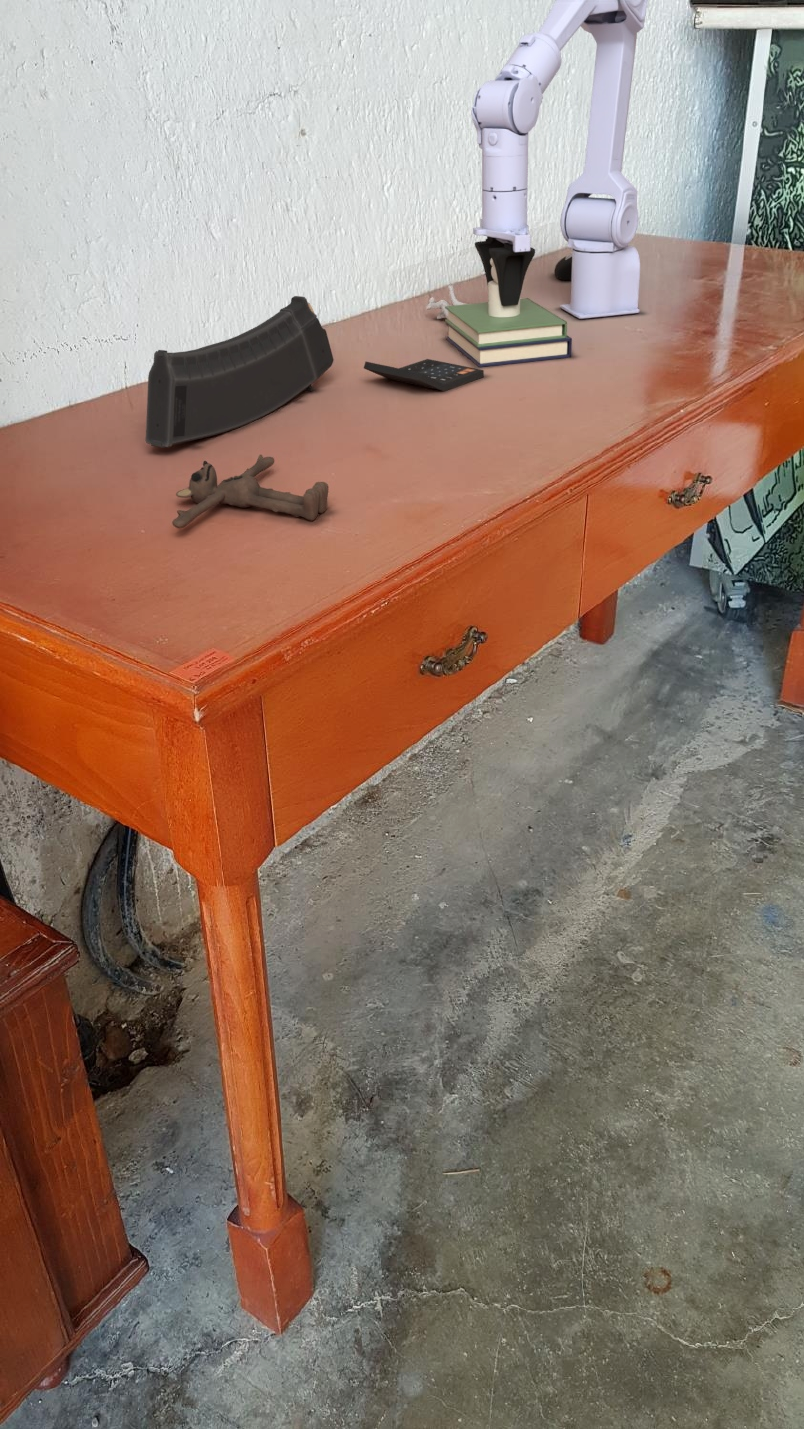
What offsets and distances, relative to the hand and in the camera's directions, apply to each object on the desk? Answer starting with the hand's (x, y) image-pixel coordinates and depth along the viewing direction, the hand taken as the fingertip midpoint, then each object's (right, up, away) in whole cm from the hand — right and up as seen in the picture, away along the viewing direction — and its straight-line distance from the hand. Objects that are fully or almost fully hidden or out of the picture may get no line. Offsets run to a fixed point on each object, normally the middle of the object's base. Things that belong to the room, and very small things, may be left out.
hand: (503, 301), depth 151 cm
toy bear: (0, -1, +1) cm, 2 cm away
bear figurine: (-27, -35, -43) cm, 62 cm away
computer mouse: (+18, +18, +40) cm, 48 cm away
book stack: (+1, -5, +3) cm, 6 cm away
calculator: (-11, -13, -9) cm, 19 cm away
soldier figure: (-5, +2, +15) cm, 16 cm away
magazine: (-31, -20, -19) cm, 42 cm away
